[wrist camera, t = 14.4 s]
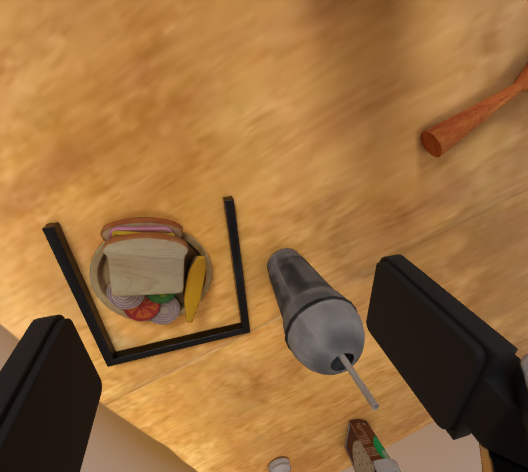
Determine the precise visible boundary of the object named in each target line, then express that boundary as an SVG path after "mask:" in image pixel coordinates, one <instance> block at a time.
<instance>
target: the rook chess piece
mask: <svg viewBox="0 0 528 472" xmlns="http://www.w3.org/2000/svg"><path fill="white" fill-rule="evenodd" d="M289 463H290V462H289V460H288V459H287V458H285V457H280V458H277V459H274V460H273V461H272V462H271V463H270V465H269V468H268V470H269V471H270V472H290V471H291V466H290V465H289Z"/></svg>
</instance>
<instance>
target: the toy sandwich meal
mask: <svg viewBox="0 0 528 472" xmlns="http://www.w3.org/2000/svg"><path fill="white" fill-rule="evenodd" d="M101 236H102V238H103V239H104V240H105V242H104V243H103V244H102V245H101V246H100V247H99V249H98V250H97V251H96V253H95V255H94V257H93V259H92V262H91V266H90V280H91V284H92V287H93V290H94V292H95V293H96V295H97V297H98V298H99V299H100V300H101V301H102V303H103V304H105V305H106V306H107V307H108V308H109V309H111V310H112V311H114V312H115V313H117V314H119V315H122V316H124V317H127V318H130V319H133V320H136V321H152V322H154V323H156V324H162V325H163V324H168V323H171V322H173V321H174V320H175V319H176V318H177V317H178V316H180V315H182V314H184V313H185V315H186V322H192V321H193V318H194V316H195V313H196V310H197V308H198V305H199V302H200V301H201V300H202V299H203V297H204V296H205V294H206V292H207V291H208V289H209V286H210V283H211V278H212V268H211V263H210V260H209V257H208V255H207V253H206V251H205V250H204V248H203V247H202V246H201V245H200V244H199V243H198V242H197V241H196V240H195V239H194V238H193V237H191V236H190V235H188V234H186V233H184V232H183V229H182V226H181V225H180V224H178V223H176V222H173V221H170V220H166V219H160V218H151V217H138V218H128V219H122V220H118V221H114V222H112V223H109V224H107V225H105V226H104V227H103V228H102V231H101Z"/></svg>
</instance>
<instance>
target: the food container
mask: <svg viewBox="0 0 528 472" xmlns="http://www.w3.org/2000/svg"><path fill="white" fill-rule="evenodd" d="M345 449H346V451H347V454H348V456H349V458H350V461H351V463H352V465H353V468H354V470H355V472H401V471H400V468H399V466H398V463H397V462H396V461H395V460H393V459H391V458H390V457H389V455H388V454H387V452H386V451H385V449H384V447H383V446H382V444H381V443H380V441H379V440H378V438H377V437H376V435H375V434H374V432H373V430H372V429H371V427H370V426H369V424H368V423H367V422H366V421H365V420H360V419H357V420H351V421H349V425H348V431H347V437H346V442H345Z"/></svg>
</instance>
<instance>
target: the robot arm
mask: <svg viewBox="0 0 528 472" xmlns="http://www.w3.org/2000/svg"><path fill="white" fill-rule="evenodd" d="M366 323H367V328H368V330H369V332H370V333H371V335H372V336H373V337H374V339H375V340H376V341H377V343H378V344H379V346H380V347H381V348H382V350H383V351H384V352H385V354H386V355H387V357H388V358H389V359H390V361H391V362H392V363H393V365H394V366H395V368H396V369H397V370H398V372H399V373H400V374H401V376H402V377H403V379H404V380H405V381H406V383H407V384H408V385H409V387H410V388H411V390H412V391H413V392H414V394H415V395H416V396H417V398H418V399H419V401H420V402H421V403H422V405H423V406H424V407H425V409H426V410H427V412H428V413H429V414H430V416H431V417H432V418H433V420H434V421H435V422H436V424H437V425H438V426H439V427H441V428H442V429H446V431H447V432H448V433H449V435H450V436H451V437H452V439H453V440H455V439H458V438H461V437H464V436H467V435H470V434H471V433H472V434H473V436H474V437H475V438H476V439H477V441H478V442H479V447H480V456H481V464H482V472H528V354H526V355H524V356H523V358H522V359H520V358H518V357H517V356H516V355H515V353H516V352H517V350H518V349H517V348H516V347H515V346H514V345H512V344H511V343H510V342H509V341H508V340H506V339H505V338H504V337H503V336H501V335H500V334H499V333H498V332H496V331H495V330H494V329H493V328H491V327H490V326H489V325H488V324H487V323H485V322H484V321H483V320H482V319H480V318H479V317H478V316H477V315H475V314H474V313H473V312H472V311H470V310H469V309H468V308H467V307H466V306H464V305H463V304H462V303H461V302H459V301H458V300H457V299H456V298H454V297H453V296H452V295H451V294H450V293H448V292H447V291H446V290H445V289H443V288H442V287H441V286H440V285H438V284H437V283H436V282H435V281H433V280H432V279H431V278H430V277H429V276H427V275H426V274H425V273H424V272H422V271H421V270H420V269H419V268H417V267H416V266H415V265H414V264H413V263H411V262H410V261H409V260H408V259H406V258H405V257H404V256H402V255H399V254H398V255H392V256H387V257H383V258H382V259H381V260H380V262H379V263H377V265H376V270H375V276H374V281H373V287H372V293H371V298H370V304H369V309H368V315H367V321H366ZM101 391H102V383H101V379H100V377H99V375H98V373H97V371H96V369H95V367H94V365H93V363H92V361H91V359H90V357H89V355H88V352H87V350H86V348H85V346H84V344H83V342H82V340H81V338H80V336H79V334H78V332H77V330H76V328H75V326H74V324H73V322H72V321H71V319H65V318H64V317H63V316H62V315H54V316H49V317H43V318H37V319H35V320H33V322H32V323H31V324H30V326H29V327H28V329H27V330H26V332H25V333H24V335H23V337H22V338H21V340H20V341H19V343H18V344H17V346H16V348H15V349H14V351H13V352H12V354H11V355H10V357H9V359H8V360H7V362H6V363H5V365H4V366H3V368H2V370H1V371H0V472H80V469H81V466H82V462H83V458H84V455H85V451H86V447H87V444H88V440H89V436H90V433H91V429H92V425H93V422H94V417H95V414H96V410H97V407H98V403H99V400H100V396H101Z"/></svg>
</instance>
